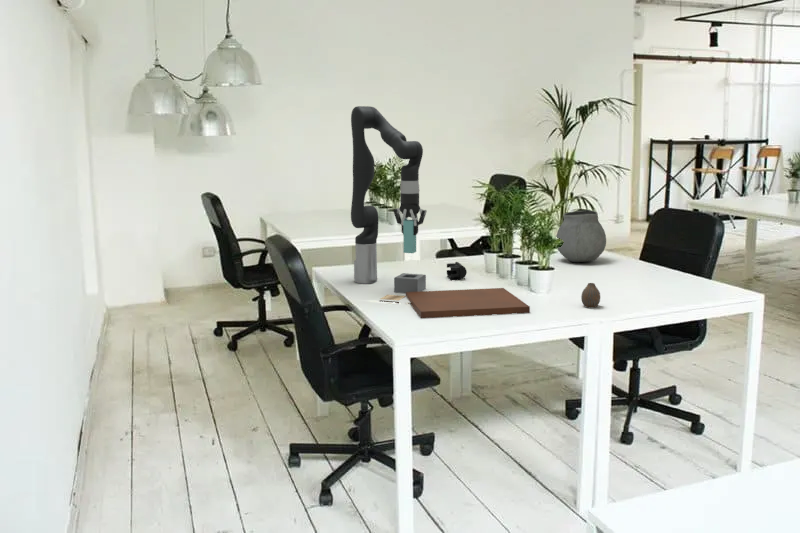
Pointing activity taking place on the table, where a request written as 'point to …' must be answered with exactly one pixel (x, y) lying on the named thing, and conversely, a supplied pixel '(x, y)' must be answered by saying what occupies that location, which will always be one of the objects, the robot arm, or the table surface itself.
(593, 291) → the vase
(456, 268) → the end cap
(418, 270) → the table surface
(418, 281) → the grey square socket block
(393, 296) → the mat
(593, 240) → the ceramic pot
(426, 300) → the flat brown board
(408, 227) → the plug
